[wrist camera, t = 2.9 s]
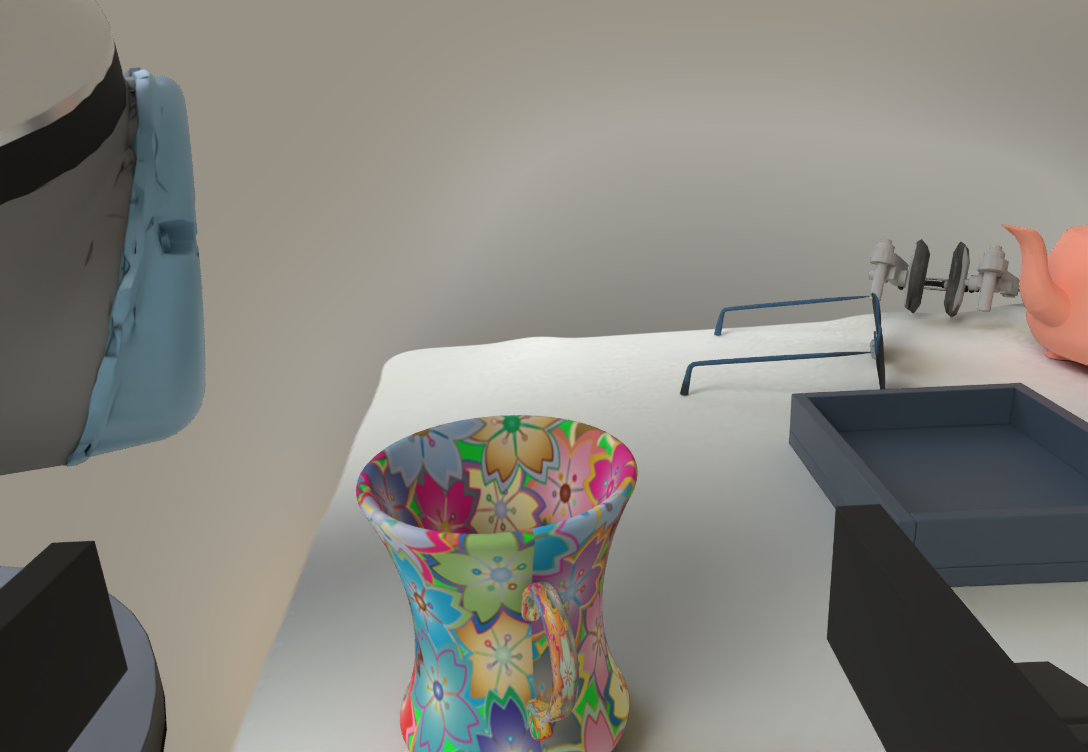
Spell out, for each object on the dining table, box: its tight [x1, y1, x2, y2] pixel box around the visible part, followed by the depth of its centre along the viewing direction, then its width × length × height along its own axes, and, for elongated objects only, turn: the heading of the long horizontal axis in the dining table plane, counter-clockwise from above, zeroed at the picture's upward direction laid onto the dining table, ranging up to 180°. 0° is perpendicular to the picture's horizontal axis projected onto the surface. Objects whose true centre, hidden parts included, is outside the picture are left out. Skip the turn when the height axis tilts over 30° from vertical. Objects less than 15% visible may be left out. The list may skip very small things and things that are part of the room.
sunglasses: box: [680, 293, 885, 395], centre depth 66 cm, size 17×15×5 cm
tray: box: [789, 383, 1088, 586], centre depth 44 cm, size 15×17×4 cm
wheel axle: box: [869, 239, 1020, 317], centre depth 81 cm, size 14×7×20 cm
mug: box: [356, 415, 637, 752], centre depth 27 cm, size 12×9×11 cm
